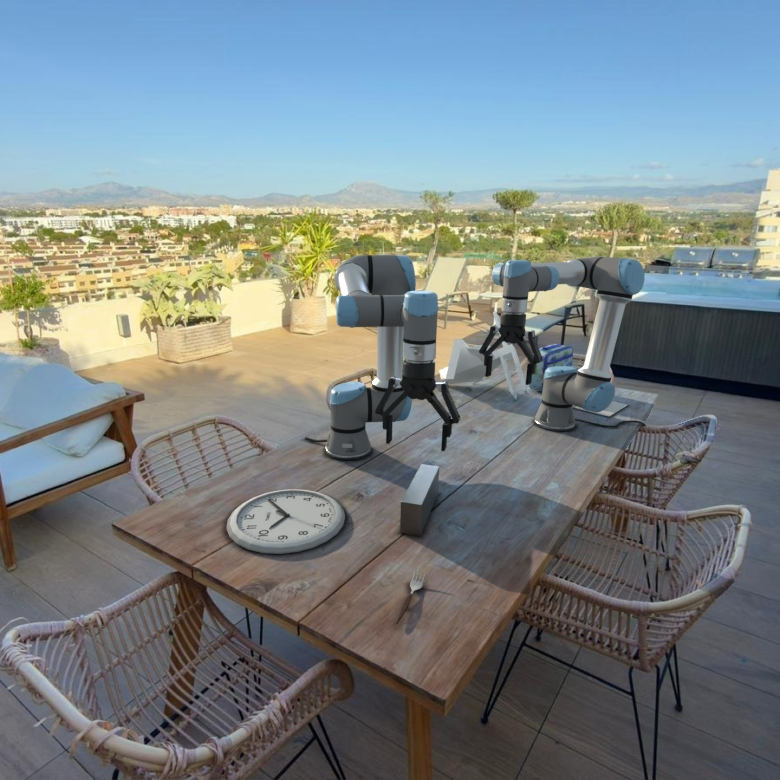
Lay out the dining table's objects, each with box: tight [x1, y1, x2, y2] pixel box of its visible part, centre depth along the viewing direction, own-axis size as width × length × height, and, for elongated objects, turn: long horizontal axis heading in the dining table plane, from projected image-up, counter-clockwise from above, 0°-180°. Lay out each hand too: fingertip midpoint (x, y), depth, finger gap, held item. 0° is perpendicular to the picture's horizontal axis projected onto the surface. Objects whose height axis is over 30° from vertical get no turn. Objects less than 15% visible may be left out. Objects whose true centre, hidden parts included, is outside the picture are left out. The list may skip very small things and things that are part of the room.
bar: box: [399, 463, 440, 537], centre depth 139 cm, size 22×5×9 cm, turn 164°
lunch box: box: [528, 343, 574, 392], centre depth 248 cm, size 26×11×21 cm, turn 134°
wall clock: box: [226, 488, 346, 555], centre depth 135 cm, size 30×2×30 cm
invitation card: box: [573, 400, 629, 418], centre depth 226 cm, size 21×1×15 cm
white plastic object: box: [438, 310, 531, 400], centre depth 245 cm, size 37×45×31 cm
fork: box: [396, 568, 427, 625], centre depth 107 cm, size 3×16×2 cm, turn 160°
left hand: (416, 445), depth 126 cm, fingers open, 13 cm apart
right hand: (507, 380), depth 165 cm, fingers open, 13 cm apart
